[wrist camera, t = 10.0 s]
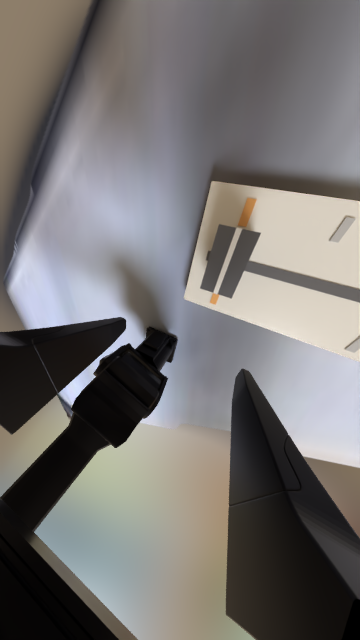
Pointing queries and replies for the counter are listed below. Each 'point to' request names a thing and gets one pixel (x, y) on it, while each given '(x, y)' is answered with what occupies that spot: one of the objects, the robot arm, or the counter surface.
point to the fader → (228, 259)
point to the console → (288, 264)
